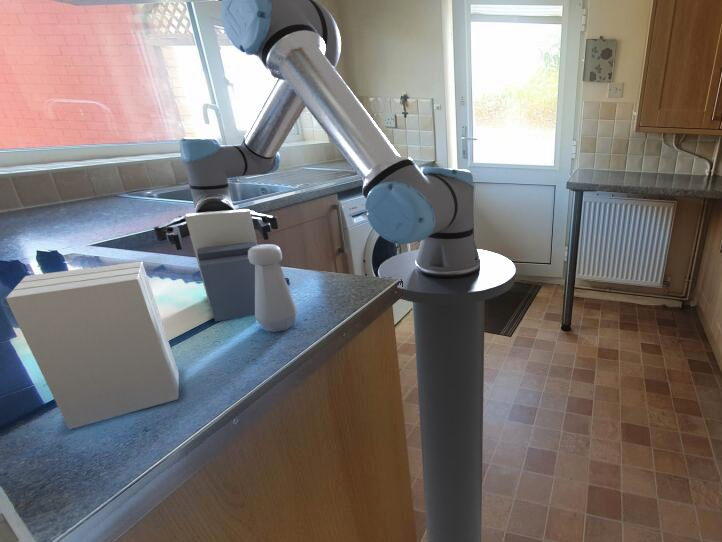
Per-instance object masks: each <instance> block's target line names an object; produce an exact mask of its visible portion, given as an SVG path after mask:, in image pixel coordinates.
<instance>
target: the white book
mask: <svg viewBox="0 0 722 542" xmlns="http://www.w3.org/2000/svg"><path fill="white" fill-rule="evenodd" d="M250 211H251V210H250V208H241V209H235V210H228V211H215V212H203V213H194V212H191V213H185V214H184V217H185V218H186V222H187V225H188V229H189V233H190V236H189V237H190V240H191V243H192V247H193V250H194V251H193V252H194V254H195V258H196V263H197V265H198V269H199V272H200V276H201V280H202V283H203V287H204V291H205V295H206V298H207V300H208V302H210V301H209V298H208V294H207V290H206V287H205V283H204V279H203V276H202V272H201V268H200V264H199V258H198V254H197V248H204V247H213V246H221V245H229V244H238V243H246V242H255V243H256V244H257V245H258V241H257V236H256V230H254V226H253V221H252V217H251V212H250Z"/></svg>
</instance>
